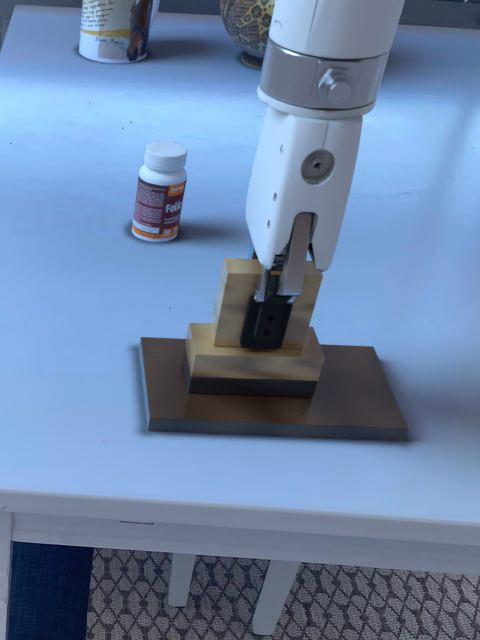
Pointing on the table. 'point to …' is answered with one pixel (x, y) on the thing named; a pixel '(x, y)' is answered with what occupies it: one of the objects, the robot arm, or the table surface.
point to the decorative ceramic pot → (248, 26)
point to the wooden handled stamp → (249, 363)
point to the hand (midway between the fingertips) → (257, 334)
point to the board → (275, 399)
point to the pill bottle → (160, 192)
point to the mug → (116, 29)
